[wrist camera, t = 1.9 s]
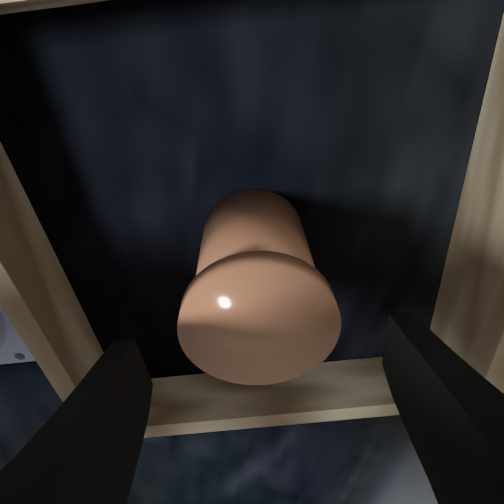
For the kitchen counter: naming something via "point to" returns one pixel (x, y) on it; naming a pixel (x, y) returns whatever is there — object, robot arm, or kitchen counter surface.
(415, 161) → the kitchen counter surface
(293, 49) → the kitchen counter surface
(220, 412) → the frame
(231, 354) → the peach drawer knob
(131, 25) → the kitchen counter surface
